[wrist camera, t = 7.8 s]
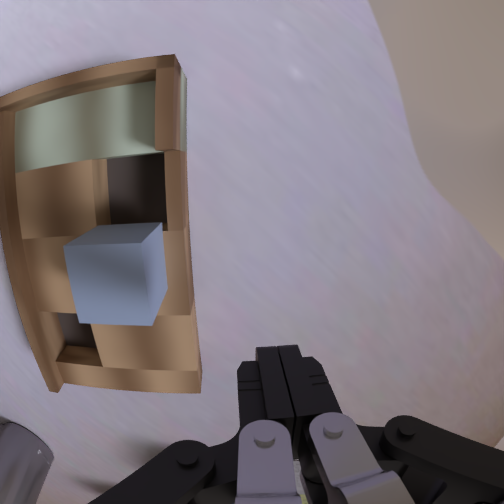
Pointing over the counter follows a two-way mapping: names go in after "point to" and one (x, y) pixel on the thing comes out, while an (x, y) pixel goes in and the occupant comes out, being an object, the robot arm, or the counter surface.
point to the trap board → (99, 217)
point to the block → (118, 273)
